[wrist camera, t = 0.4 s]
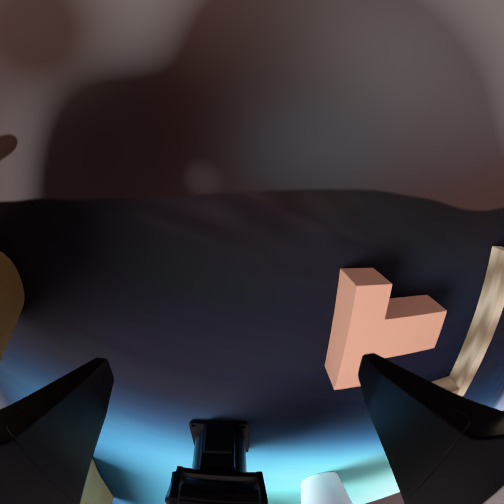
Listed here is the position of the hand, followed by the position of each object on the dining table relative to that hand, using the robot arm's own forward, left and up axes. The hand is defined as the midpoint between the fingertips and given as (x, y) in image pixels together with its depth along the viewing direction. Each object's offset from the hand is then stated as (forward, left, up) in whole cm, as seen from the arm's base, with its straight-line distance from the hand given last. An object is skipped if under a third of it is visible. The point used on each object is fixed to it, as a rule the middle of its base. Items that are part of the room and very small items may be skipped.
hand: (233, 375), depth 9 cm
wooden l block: (-9, -23, -13) cm, 28 cm away
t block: (-6, -13, -13) cm, 19 cm away
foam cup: (-39, -13, -13) cm, 43 cm away
